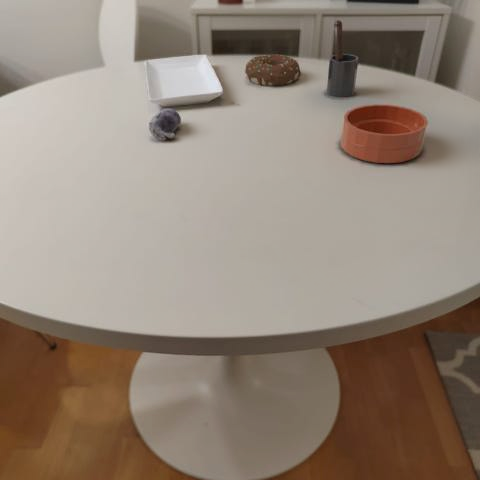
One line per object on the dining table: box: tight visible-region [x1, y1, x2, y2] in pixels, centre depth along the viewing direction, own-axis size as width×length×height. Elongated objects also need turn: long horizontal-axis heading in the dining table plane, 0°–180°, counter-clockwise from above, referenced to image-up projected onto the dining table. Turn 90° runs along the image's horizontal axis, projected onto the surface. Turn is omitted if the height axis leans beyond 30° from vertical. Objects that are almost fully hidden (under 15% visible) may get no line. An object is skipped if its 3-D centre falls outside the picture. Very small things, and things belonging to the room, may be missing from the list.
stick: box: [333, 20, 344, 61], centre depth 99 cm, size 2×2×16 cm
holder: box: [326, 53, 359, 98], centre depth 103 cm, size 6×6×8 cm
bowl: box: [340, 104, 429, 164], centre depth 82 cm, size 14×14×6 cm
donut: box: [244, 53, 302, 87], centre depth 113 cm, size 14×14×5 cm
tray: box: [143, 54, 224, 108], centre depth 112 cm, size 17×32×4 cm, turn 11°
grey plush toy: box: [148, 107, 182, 142], centre depth 91 cm, size 5×5×10 cm
